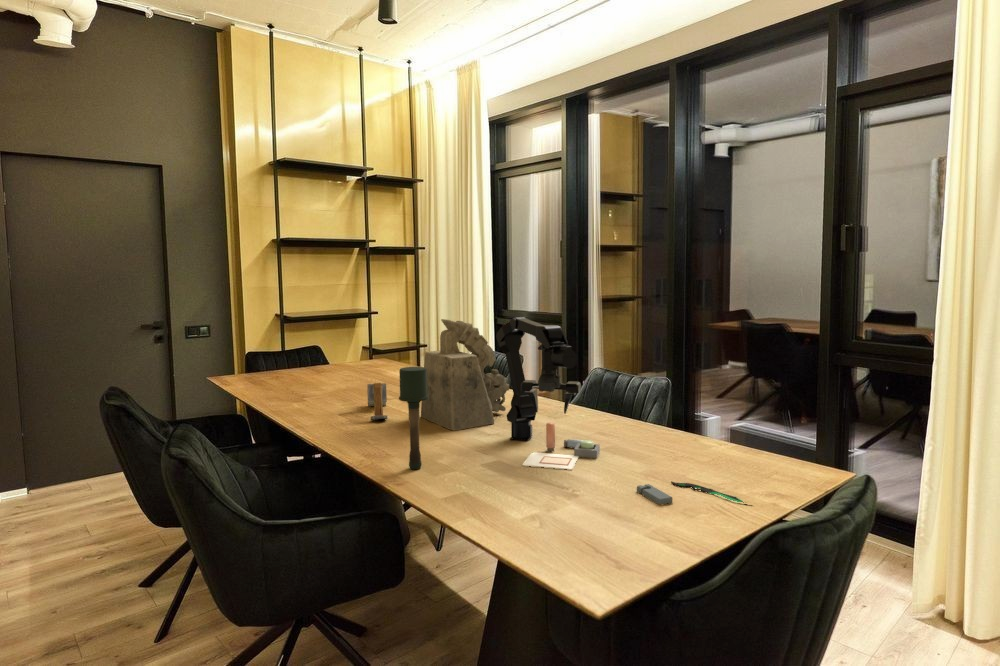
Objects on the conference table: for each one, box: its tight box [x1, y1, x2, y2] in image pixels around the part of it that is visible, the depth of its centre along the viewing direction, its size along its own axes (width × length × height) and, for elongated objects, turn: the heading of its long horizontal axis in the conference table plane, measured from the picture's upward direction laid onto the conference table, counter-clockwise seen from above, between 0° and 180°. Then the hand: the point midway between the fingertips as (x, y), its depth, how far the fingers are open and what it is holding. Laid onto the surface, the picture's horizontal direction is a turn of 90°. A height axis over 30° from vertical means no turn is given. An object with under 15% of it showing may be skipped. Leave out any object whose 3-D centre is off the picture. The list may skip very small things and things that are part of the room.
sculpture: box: [420, 318, 510, 431], centre depth 242 cm, size 27×33×40 cm
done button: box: [581, 439, 595, 449], centre depth 193 cm, size 4×4×2 cm
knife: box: [670, 481, 747, 503], centre depth 159 cm, size 23×1×5 cm
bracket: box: [636, 483, 673, 506], centre depth 157 cm, size 4×10×2 cm, turn 20°
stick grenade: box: [398, 366, 428, 471], centre depth 180 cm, size 8×9×30 cm
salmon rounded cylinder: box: [545, 421, 556, 452], centre depth 198 cm, size 3×3×9 cm
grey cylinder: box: [563, 438, 585, 449], centre depth 201 cm, size 9×3×3 cm, turn 73°
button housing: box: [573, 443, 601, 459], centre depth 194 cm, size 7×7×2 cm
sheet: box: [521, 452, 580, 471], centre depth 187 cm, size 15×13×1 cm
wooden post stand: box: [366, 382, 388, 421], centre depth 253 cm, size 8×17×30 cm
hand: (550, 412), depth 197 cm, fingers open, 9 cm apart
